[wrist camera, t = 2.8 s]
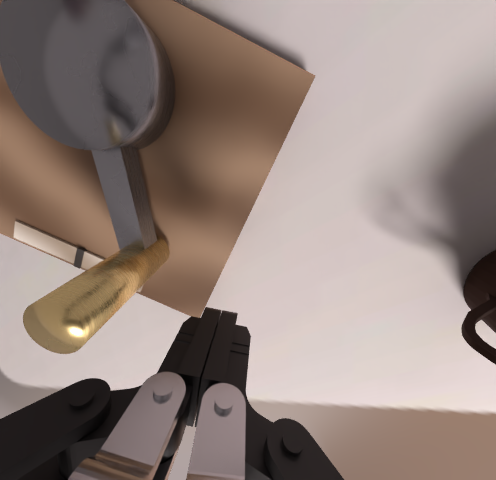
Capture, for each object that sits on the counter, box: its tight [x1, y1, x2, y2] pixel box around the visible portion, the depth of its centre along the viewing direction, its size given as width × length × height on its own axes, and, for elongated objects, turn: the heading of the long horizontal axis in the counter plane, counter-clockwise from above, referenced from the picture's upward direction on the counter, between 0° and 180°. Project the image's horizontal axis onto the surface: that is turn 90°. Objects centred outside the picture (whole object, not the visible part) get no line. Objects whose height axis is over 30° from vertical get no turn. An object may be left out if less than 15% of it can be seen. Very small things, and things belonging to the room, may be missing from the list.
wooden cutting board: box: [0, 0, 315, 318], centre depth 15 cm, size 18×20×2 cm
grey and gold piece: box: [0, 0, 175, 354], centre depth 11 cm, size 15×7×8 cm, turn 5°
